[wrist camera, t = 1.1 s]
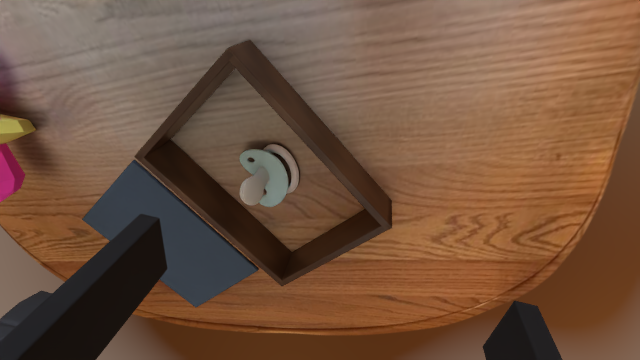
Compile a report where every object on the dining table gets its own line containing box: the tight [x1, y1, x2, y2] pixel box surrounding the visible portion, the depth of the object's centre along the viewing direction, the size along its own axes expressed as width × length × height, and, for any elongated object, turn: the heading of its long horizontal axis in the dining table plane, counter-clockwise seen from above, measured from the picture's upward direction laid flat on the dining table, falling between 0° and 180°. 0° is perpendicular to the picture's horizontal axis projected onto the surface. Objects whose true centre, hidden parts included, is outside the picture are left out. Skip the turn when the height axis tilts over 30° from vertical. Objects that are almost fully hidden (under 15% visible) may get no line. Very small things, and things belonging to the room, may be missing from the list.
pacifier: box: [240, 144, 299, 207], centre depth 35 cm, size 7×6×6 cm
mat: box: [82, 160, 258, 307], centre depth 48 cm, size 22×16×1 cm
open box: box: [135, 40, 392, 286], centre depth 36 cm, size 23×17×5 cm
